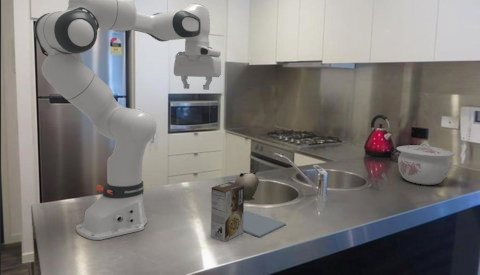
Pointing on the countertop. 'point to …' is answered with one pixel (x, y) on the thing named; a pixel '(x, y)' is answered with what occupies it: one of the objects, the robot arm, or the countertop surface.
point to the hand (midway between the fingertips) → (196, 89)
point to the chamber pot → (424, 163)
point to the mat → (259, 224)
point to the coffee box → (227, 211)
